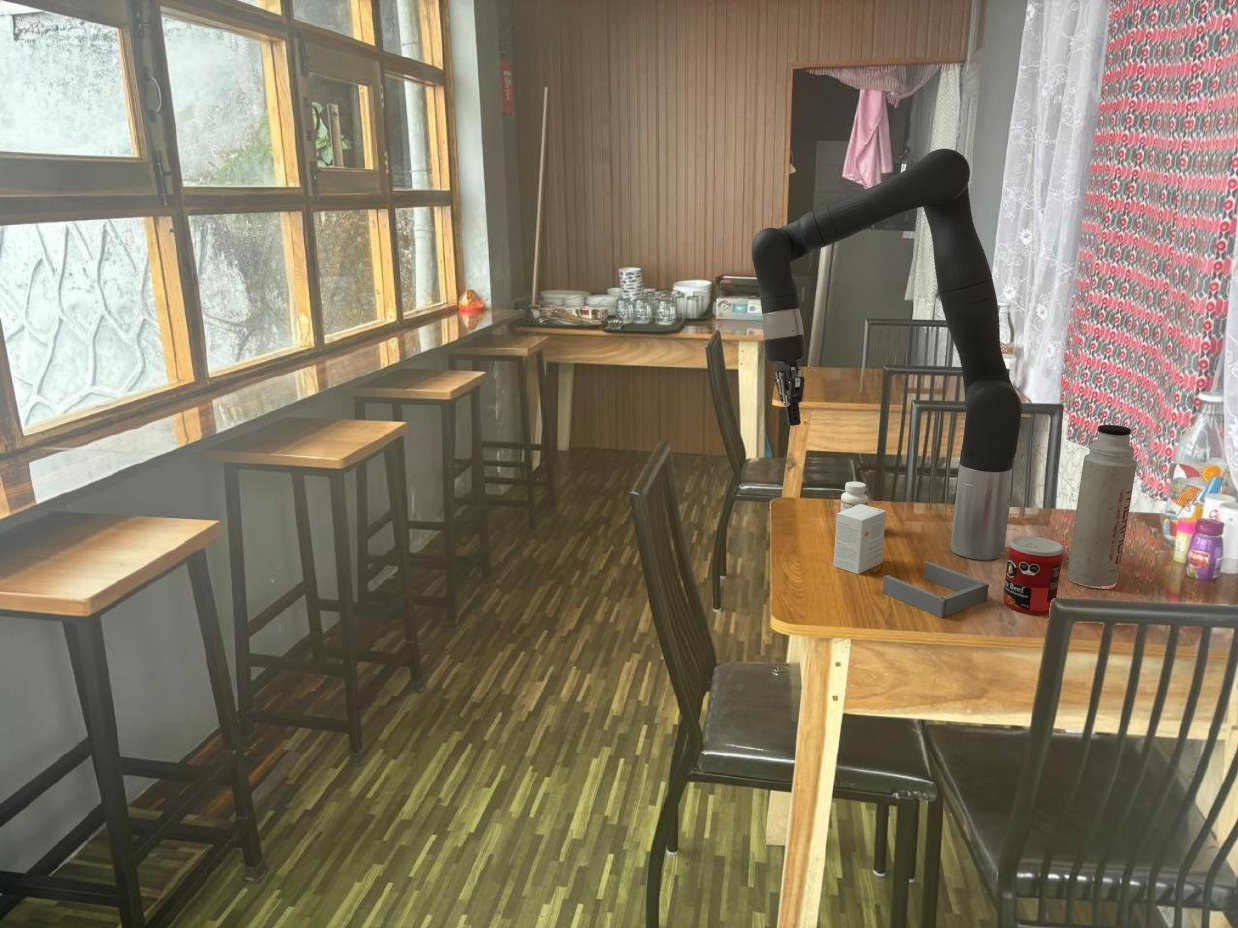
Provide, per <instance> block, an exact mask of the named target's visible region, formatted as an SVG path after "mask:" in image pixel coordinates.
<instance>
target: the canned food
mask: <svg viewBox="0 0 1238 928" xmlns="http://www.w3.org/2000/svg"><path fill="white" fill-rule="evenodd" d="M1063 556H1064V546H1063V545H1062V544H1061V543H1059V542H1058V541H1055V540H1052V539H1049V538H1045V537H1042V536H1035V535H1022V536H1015V537H1013V538H1011V539H1010V541H1009V547H1008V553H1007V563H1006V570H1005V579H1004V586H1003V594H1002V598H1003V603H1004V604H1005V606H1006V607H1007V608H1009V609H1010V608H1011V610H1012V611H1015V612H1018V613H1022V614H1026V615H1031V616H1035V615H1036V616H1040V615H1041V616H1042V615H1047V614H1050V613H1049V608H1050V603H1051V600H1052V599H1053V598H1056V599H1057V596H1058V589H1059V583H1060V581H1059V580H1060V576H1061V568H1062V561H1063Z"/></svg>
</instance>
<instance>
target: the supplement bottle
mask: <svg viewBox="0 0 1238 928" xmlns="http://www.w3.org/2000/svg"><path fill="white" fill-rule="evenodd" d="M866 487H867V485H866V484H865V483H864V482H861V481H847V482H846V483H845V486H844V489H845V492H843V493H842V494H841V496H840V497H841V498H840V510H839V512H841V511H844V510H846V509H849V508H852V507H854V506H857V505H859V504H863V505H867V506H869V497H868V495H867V494H866V493H865V492H866Z"/></svg>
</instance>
